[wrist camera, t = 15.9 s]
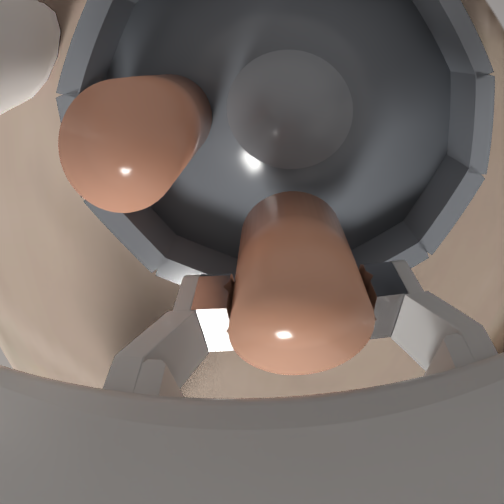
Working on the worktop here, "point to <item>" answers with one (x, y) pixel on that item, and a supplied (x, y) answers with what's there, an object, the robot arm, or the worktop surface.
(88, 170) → the peach egg shape
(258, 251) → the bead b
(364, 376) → the worktop surface
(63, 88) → the tray
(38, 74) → the foam cup
